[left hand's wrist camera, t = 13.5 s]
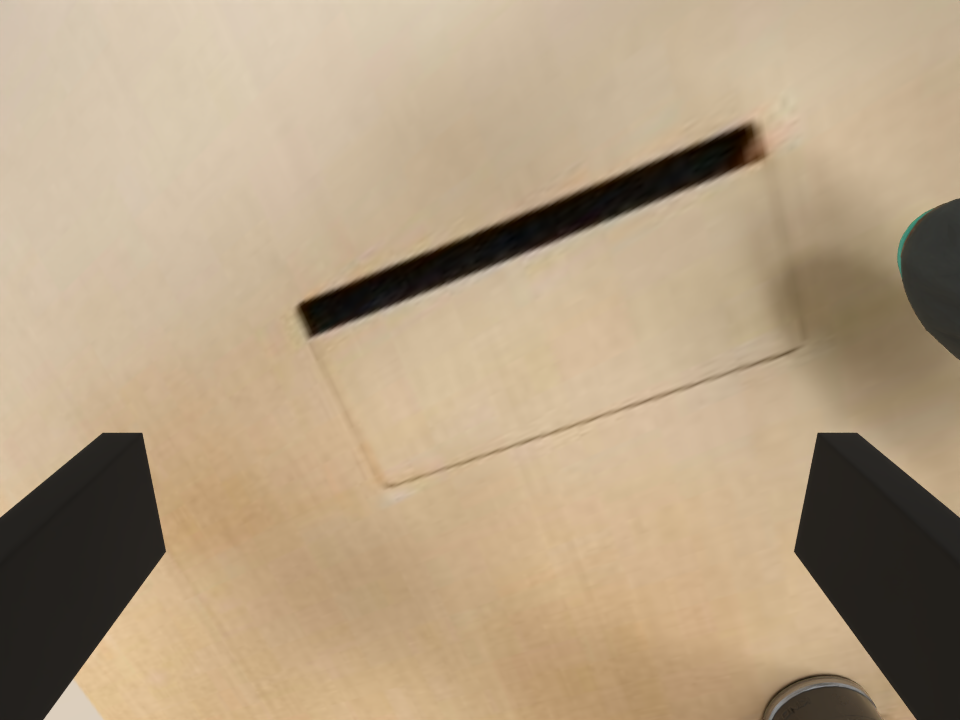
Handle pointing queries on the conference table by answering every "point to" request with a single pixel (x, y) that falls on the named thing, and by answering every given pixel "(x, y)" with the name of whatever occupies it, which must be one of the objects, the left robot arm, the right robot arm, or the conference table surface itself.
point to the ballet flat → (934, 272)
